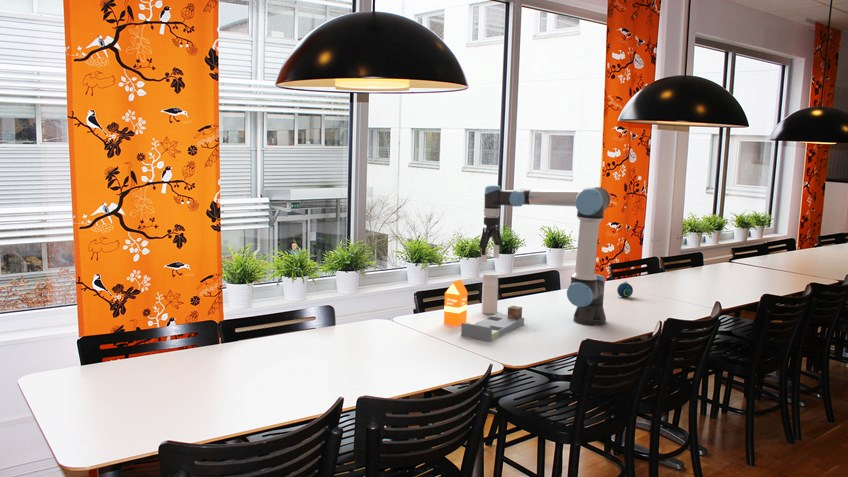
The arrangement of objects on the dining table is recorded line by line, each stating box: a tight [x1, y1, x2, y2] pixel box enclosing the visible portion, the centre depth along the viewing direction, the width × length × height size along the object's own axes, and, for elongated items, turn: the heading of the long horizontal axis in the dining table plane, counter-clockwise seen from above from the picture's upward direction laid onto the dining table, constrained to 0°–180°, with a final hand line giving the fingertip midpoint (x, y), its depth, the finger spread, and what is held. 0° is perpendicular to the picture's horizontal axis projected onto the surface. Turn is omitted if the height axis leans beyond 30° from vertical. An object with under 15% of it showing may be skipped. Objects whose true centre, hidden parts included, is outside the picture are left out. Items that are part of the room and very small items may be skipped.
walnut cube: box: [507, 305, 523, 320], centre depth 309 cm, size 5×5×5 cm
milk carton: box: [481, 274, 499, 315], centre depth 330 cm, size 7×7×19 cm
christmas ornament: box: [616, 280, 634, 299], centre depth 372 cm, size 8×8×10 cm
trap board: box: [460, 312, 525, 343], centre depth 298 cm, size 14×36×6 cm, turn 149°
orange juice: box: [443, 279, 468, 327], centre depth 308 cm, size 8×9×20 cm
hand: (490, 259), depth 327 cm, fingers open, 13 cm apart
